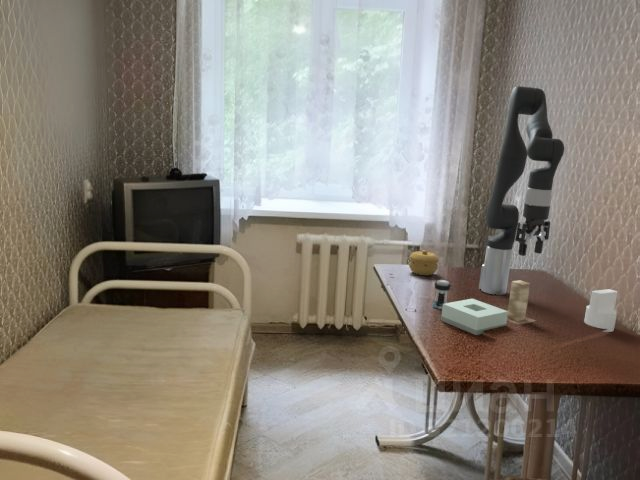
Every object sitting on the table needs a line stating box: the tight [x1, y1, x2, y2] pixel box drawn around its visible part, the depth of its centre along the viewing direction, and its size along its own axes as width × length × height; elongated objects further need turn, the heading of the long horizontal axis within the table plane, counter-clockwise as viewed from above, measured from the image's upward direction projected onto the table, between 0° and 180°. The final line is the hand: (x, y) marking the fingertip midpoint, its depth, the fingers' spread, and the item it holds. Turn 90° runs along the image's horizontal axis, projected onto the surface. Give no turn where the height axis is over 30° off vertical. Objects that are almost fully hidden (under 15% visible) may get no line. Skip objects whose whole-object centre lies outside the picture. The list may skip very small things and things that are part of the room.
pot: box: [408, 249, 439, 276], centre depth 245 cm, size 12×12×10 cm
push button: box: [432, 279, 452, 310], centre depth 198 cm, size 7×5×10 cm
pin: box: [507, 279, 531, 321], centre depth 192 cm, size 4×4×12 cm
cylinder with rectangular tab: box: [583, 288, 619, 333], centre depth 193 cm, size 9×9×12 cm
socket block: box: [440, 298, 508, 336], centre depth 187 cm, size 14×14×6 cm
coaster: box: [507, 316, 537, 326], centre depth 194 cm, size 9×9×1 cm
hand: (529, 254), depth 189 cm, fingers open, 8 cm apart
